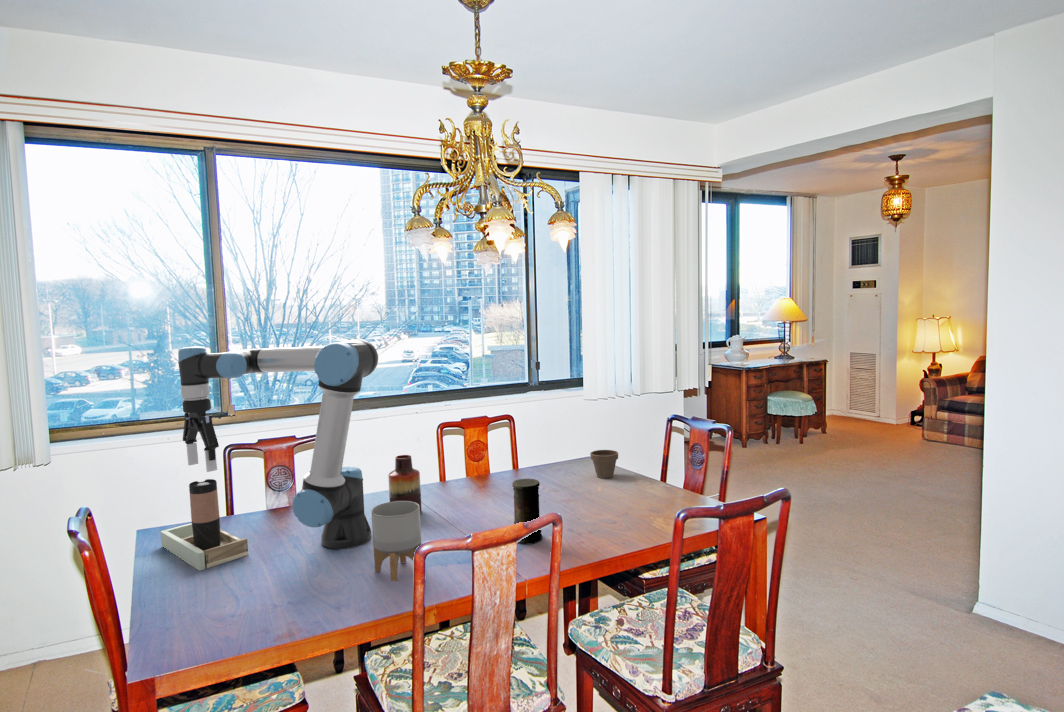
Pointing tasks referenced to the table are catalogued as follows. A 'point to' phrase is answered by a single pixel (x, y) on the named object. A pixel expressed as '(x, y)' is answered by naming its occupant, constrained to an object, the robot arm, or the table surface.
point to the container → (526, 505)
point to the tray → (223, 549)
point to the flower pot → (604, 462)
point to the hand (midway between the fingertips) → (202, 467)
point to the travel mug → (205, 514)
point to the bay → (183, 545)
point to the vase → (404, 481)
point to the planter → (395, 533)
